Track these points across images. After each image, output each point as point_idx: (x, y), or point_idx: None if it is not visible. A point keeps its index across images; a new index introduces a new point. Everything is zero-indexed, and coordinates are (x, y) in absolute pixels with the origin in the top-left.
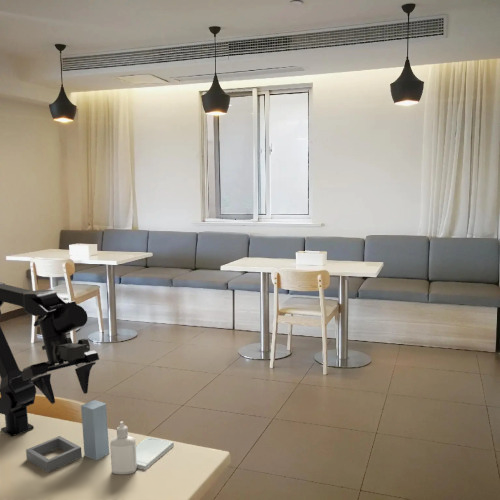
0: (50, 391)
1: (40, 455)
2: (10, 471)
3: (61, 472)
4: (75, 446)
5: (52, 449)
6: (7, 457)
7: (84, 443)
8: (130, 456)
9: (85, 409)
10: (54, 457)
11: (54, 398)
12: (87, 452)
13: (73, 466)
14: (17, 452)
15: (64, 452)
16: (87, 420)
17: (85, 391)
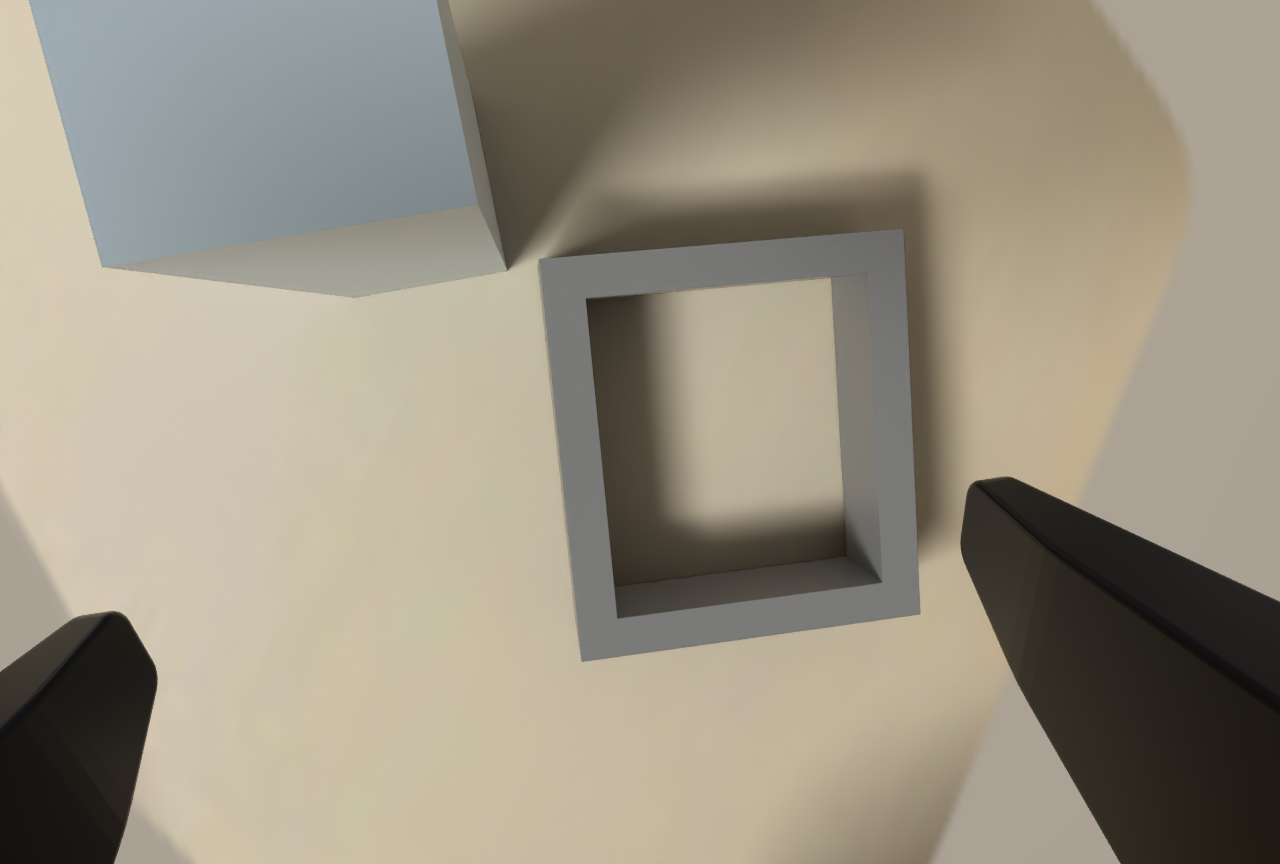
0: (1260, 622)
1: (883, 405)
2: (1042, 488)
3: (786, 148)
4: (571, 320)
5: (668, 582)
6: (965, 727)
7: (500, 248)
8: None
9: (451, 69)
10: (814, 266)
11: (1022, 521)
12: (495, 216)
13: (669, 162)
14: (880, 754)
15: (706, 284)
16: (461, 86)
17: (107, 648)
